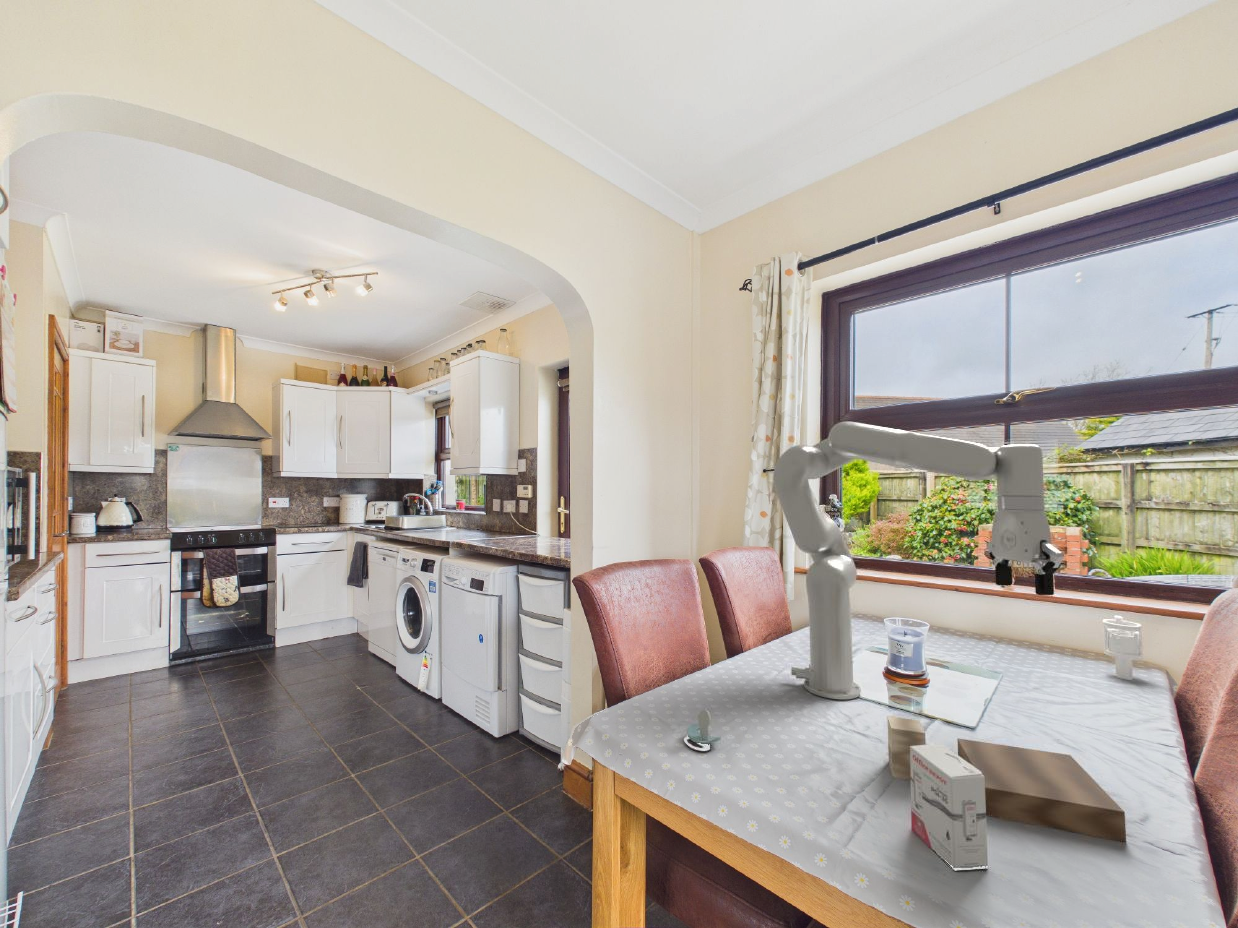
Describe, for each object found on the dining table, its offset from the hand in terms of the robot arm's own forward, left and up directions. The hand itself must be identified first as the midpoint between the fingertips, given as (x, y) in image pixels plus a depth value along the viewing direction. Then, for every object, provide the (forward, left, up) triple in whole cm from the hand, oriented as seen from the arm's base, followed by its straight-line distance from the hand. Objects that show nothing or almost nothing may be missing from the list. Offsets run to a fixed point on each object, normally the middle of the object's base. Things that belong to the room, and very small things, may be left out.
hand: (1023, 589), depth 102 cm
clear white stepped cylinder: (+34, +44, -28) cm, 62 cm away
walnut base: (-8, -26, -28) cm, 39 cm away
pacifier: (-60, -28, -28) cm, 72 cm away
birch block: (-25, -25, -28) cm, 45 cm away
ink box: (-23, -44, -28) cm, 57 cm away
